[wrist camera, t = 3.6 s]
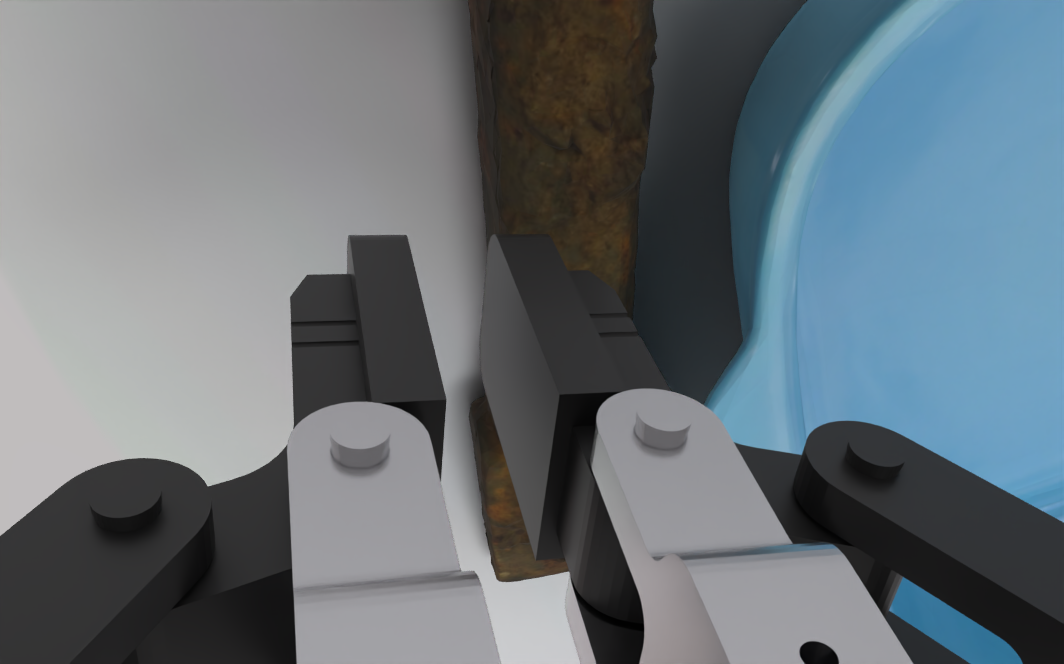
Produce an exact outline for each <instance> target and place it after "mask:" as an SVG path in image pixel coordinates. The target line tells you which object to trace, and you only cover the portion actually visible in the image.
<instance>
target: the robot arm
mask: <svg viewBox="0 0 1064 664" xmlns="http://www.w3.org/2000/svg"><path fill="white" fill-rule="evenodd" d="M290 303H291V337H292V372H293V406H294V428H293V431H292V432H291V434H290V437H289V439H288V444H287V446H286V447H285V448H284V449H283V451H282V452H281V453H280V454H279V455H278V456H277V457H276V458H274V459H273V460H272V461H271V462H269V463H268V464H266V465H265V466H263V467H261V468H260V469H258V470H256V471H254V472H252V473H249V474H247V475H245V476H242V477H239V478H236V479H233V480H230V481H226V482H223V483H219V484H216V485H212V486H209V487H208V486H207V485H206V483H205V481H204V480H203V479H202V478H201V477H200V476H199V475H198V474H197V473H195V472H194V471H192V470H191V469H189V468H187V467H185V466H183V465H180V464H178V463H174V462H171V461H167V460H160V459H150V458H137V459H126V460H120V461H115V462H111V463H107V464H104V465H101V466H97V467H95V468H92V469H90V470H88V471H85V472H83V473H81V474H80V475H78V476H76V477H74V478H73V479H71V480H70V481H68V482H67V483H65V484H64V485H63V486H61V487H60V488H59V489H58V490H56V491H55V492H54V493H53V494H52V495H50V496H49V497H48V498H47V499H45V500H44V501H43V502H42V503H40V504H39V505H38V506H37V507H36V508H34V509H33V510H32V511H31V512H29V513H28V514H27V515H26V516H25V517H23V518H22V519H21V520H20V521H18V522H17V523H16V524H15V525H13V526H12V527H11V528H10V529H9V530H7V531H6V532H5V533H4V534H2V535H1V536H0V664H501V661H500V657H499V653H498V649H497V645H496V641H495V637H494V633H493V629H492V625H491V621H490V617H489V613H488V609H487V605H486V601H485V597H484V593H483V589H482V586H481V583H480V580H479V578H478V576H477V574H476V573H475V571H462V572H461V568H460V564H459V560H458V556H457V551H456V547H455V543H454V538H453V534H452V530H451V525H450V521H449V517H448V512H447V508H446V504H445V499H444V495H443V491H442V486H441V469H442V455H443V440H444V426H445V412H446V396H445V392H444V388H443V384H442V380H441V375H440V371H439V367H438V363H437V359H436V355H435V350H434V346H433V342H432V338H431V334H430V329H429V325H428V321H427V317H426V313H425V309H424V304H423V300H422V296H421V292H420V288H419V284H418V279H417V275H416V271H415V267H414V263H413V259H412V254H411V250H410V246H409V242H408V238H407V236H406V235H349V236H348V245H347V274H327V275H307V276H306V277H305V278H304V280H303V281H302V282H301V284H300V285H299V286H298V288H297V289H296V290H295V291H294V293H293V294H292V295H291V297H290ZM480 366H481V375H482V380H483V385H484V388H485V392H486V395H487V398H488V402H489V405H490V408H491V412H492V415H493V419H494V422H495V425H496V429H497V432H498V435H499V439H500V442H501V446H502V449H503V452H504V456H505V459H506V462H507V466H508V469H509V472H510V476H511V479H512V483H513V486H514V489H515V493H516V496H517V499H518V503H519V506H520V510H521V513H522V516H523V520H524V523H525V526H526V530H527V533H528V536H529V540H530V543H531V547H532V550H533V553H534V557H535V560H536V561H537V560H549V559H560V558H565V560H566V563H567V566H568V569H569V572H570V575H569V580H568V586H567V592H566V598H565V611H566V616H567V619H568V623H569V626H570V630H571V633H572V636H573V640H574V643H575V647H576V650H577V653H578V657H579V660H580V664H970V663H969V662H967V661H966V660H964V659H963V658H961V657H960V656H958V655H956V654H955V653H953V652H952V651H950V650H949V649H947V648H946V647H944V646H943V645H941V644H940V643H938V642H937V641H935V640H934V639H932V638H930V637H929V636H927V635H926V634H924V633H923V632H921V631H920V630H918V629H917V628H915V627H914V626H912V625H911V624H909V623H907V622H906V621H904V620H903V619H901V618H900V617H898V616H897V615H895V614H894V613H892V612H891V611H889V609H890V607H891V605H892V602H893V600H894V598H895V595H896V593H897V590H898V588H899V586H900V583H901V581H902V579H903V577H904V578H906V579H907V580H909V581H910V582H912V583H914V584H915V585H917V586H918V587H920V588H922V589H923V590H925V591H926V592H928V593H930V594H931V595H933V596H934V597H936V598H938V599H939V600H941V601H942V602H944V603H946V604H947V605H949V606H950V607H952V608H954V609H955V610H957V611H958V612H960V613H961V614H963V615H965V616H966V617H968V618H969V619H971V620H973V621H974V622H976V623H977V624H979V625H981V626H982V627H984V628H985V629H987V630H989V631H990V632H992V633H993V634H995V635H997V636H998V637H1000V638H1001V639H1002V640H1004V641H1005V642H1006V643H1008V644H1009V645H1010V646H1011V647H1012V648H1013V649H1014V651H1015V652H1016V653H1017V654H1018V656H1019V657H1020V659H1021V661H1022V663H1023V664H1064V522H1062V521H1060V520H1058V519H1056V518H1055V517H1053V516H1051V515H1049V514H1047V513H1045V512H1044V511H1042V510H1040V509H1038V508H1036V507H1034V506H1032V505H1031V504H1029V503H1027V502H1025V501H1023V500H1021V499H1019V498H1018V497H1016V496H1014V495H1012V494H1010V493H1008V492H1007V491H1005V490H1003V489H1001V488H999V487H997V486H995V485H994V484H992V483H990V482H988V481H986V480H984V479H983V478H981V477H979V476H977V475H975V474H973V473H971V472H970V471H968V470H966V469H964V468H962V467H960V466H958V465H957V464H955V463H953V462H951V461H949V460H947V459H946V458H944V457H942V456H940V455H938V454H936V453H934V452H933V451H931V450H929V449H927V448H925V447H923V446H921V445H920V444H918V443H916V442H914V441H912V440H910V439H909V438H907V437H905V436H903V435H901V434H899V433H897V432H895V431H892V430H890V429H887V428H884V427H882V426H878V425H875V424H871V423H866V422H860V421H835V422H829V423H826V424H823V425H821V426H819V427H817V428H815V429H814V430H813V431H812V432H811V433H810V434H809V436H808V438H807V440H806V443H805V446H804V449H803V452H802V455H799V454H793V453H787V452H781V451H774V450H768V449H762V448H756V447H751V446H746V445H741V444H738V443H735V442H733V440H732V439H731V437H730V435H729V433H728V432H727V430H726V428H725V426H724V425H723V423H722V422H721V420H720V419H719V418H718V417H717V416H716V415H715V414H714V413H713V412H712V411H711V410H710V409H708V408H707V407H706V406H704V405H703V404H701V403H699V402H698V401H696V400H694V399H692V398H689V397H687V396H685V395H681V394H678V393H675V392H671V390H670V388H669V387H668V385H667V383H666V381H665V379H664V378H663V376H662V374H661V372H660V370H659V369H658V367H657V365H656V363H655V361H654V360H653V358H652V356H651V354H650V352H649V351H648V349H647V347H646V345H645V343H644V342H643V340H642V338H641V336H638V331H637V329H636V327H635V325H634V324H633V322H632V320H631V318H630V317H627V311H626V309H625V307H624V306H623V304H622V302H621V300H620V298H619V297H618V295H617V293H616V291H615V290H614V289H613V288H611V287H610V286H609V285H607V284H606V283H605V282H603V281H602V280H601V279H599V278H598V277H597V276H595V275H594V274H593V273H591V272H590V271H589V270H573V271H568V270H567V268H566V266H565V264H564V262H563V260H562V258H561V256H560V254H559V252H558V250H557V248H556V246H555V244H554V242H553V240H552V238H551V237H550V235H549V234H493V235H492V236H491V238H490V241H489V246H488V253H487V263H486V274H485V286H484V297H483V309H482V320H481V331H480Z"/></svg>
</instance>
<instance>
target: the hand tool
mask: <svg viewBox="0 0 1064 664" xmlns="http://www.w3.org/2000/svg"><path fill="white" fill-rule="evenodd" d="M653 1H654V0H468V4H469V10H470V26H471V37H472V47H473V58H474V68H475V79H476V91H477V103H478V145H479V153H480V162H481V171H482V184H483V201H484V211H485V220H486V236H487V253H488V246H489V241H490V238H491V236H492V235H493V234H549V235H550V237H551V238H552V240H553V242H554V244H555V246H556V248H557V250H558V252H559V254H560V256H561V258H562V260H563V262H564V264H565V266H566V268H567V270H568V271H573V270H589V271H590V272H591V273H593V274H594V275H595V276H597V277H598V278H599V279H601V280H602V281H603V282H605V283H606V284H607V285H609V286H610V287H611V288H613V289H614V290H615V291H616V293H617V295H618V297H619V298H620V300H621V302H622V304H623V306H624V307H625V309H626V311H627V317H630V318H631V320H633V306H634V292H635V273H634V270H635V266H636V257H637V247H638V214H639V186H640V176H641V174H642V172H643V170H644V169H645V163H646V155H647V148H648V135H649V127H650V119H651V110H652V102H653V94H654V83H653V78H652V70H651V67H652V65H653V64H654V62H655V60H656V59H657V56H656V51H655V46H654V45H655V42H656V39H657V33H656V27H655V21H654V15H653ZM469 421H470V427H471V433H472V439H473V445H474V454H475V460H476V467H477V475H478V481H479V489H480V493H481V499H482V515H483V518H484V521H485V523H484V525H485V529H486V532H485V533H486V536H487V542H488V546H489V550H490V554H491V564H492V566H493V569H494V572H495V575H496V579H497V580H498V581H501V582H514V581H521V580H526V579H532V578H538V577H543V576H548V575H554V574H558V573H563V572H568V571H569V569H568V566H567V563H566V560H565V558H560V559H549V560H537V561H536V560H535V557H534V553H533V550H532V547H531V543H530V540H529V536H528V533H527V530H526V526H525V523H524V520H523V516H522V513H521V510H520V506H519V503H518V499H517V496H516V493H515V489H514V486H513V483H512V479H511V476H510V472H509V469H508V466H507V462H506V459H505V456H504V452H503V449H502V446H501V442H500V439H499V435H498V432H497V429H496V425H495V422H494V419H493V415H492V412H491V408H490V405H489V402H488V398H487V395H486V392H485V396H484V397H481V398H479V399H476V400H475V401H474V402H473V403H472V404H471V408H470V413H469Z"/></svg>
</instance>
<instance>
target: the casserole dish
mask: <svg viewBox="0 0 1064 664" xmlns="http://www.w3.org/2000/svg"><path fill="white" fill-rule="evenodd" d="M729 210H730V224H731V238H732V253H733V267H734V275H735V283H736V290H737V298H738V306H739V313H740V321H741V328H742V336H743V341H742V343H741V345H740V347H739V349H738V351H737V352H736V354H735V355H734V357H733V358H732V359H731V361H730V362H729V364H728V365H727V367H726V368H725V370H724V371H723V373H722V374H721V376H720V377H719V379H718V381H717V382H716V384H715V385H714V387H713V389H712V390H711V392H710V393H709V395H708V397H707V399H706V401H705V403H704V406H706V407H707V408H708V409H710V410H711V411H712V412H713V413H714V414H715V415H716V416H717V417H718V418H719V419H720V420H721V422H722V423H723V425H724V426H725V428H726V430H727V432H728V433H729V435H730V437H731V439H732V440H733V442H735V443H738V444H741V445H746V446H751V447H756V448H762V449H768V450H774V451H781V452H787V453H793V454H799V455H802V452H803V449H804V446H805V443H806V440H807V438H808V436H809V434H810V433H811V432H812V431H813V430H814V429H815V428H817V427H819V426H821V425H823V424H826V423H829V422H835V421H860V422H866V423H871V424H875V425H878V426H882V427H884V428H887V429H890V430H892V431H895V432H897V433H899V434H901V435H903V436H905V437H907V438H909V439H910V440H912V441H914V442H916V443H918V444H920V445H921V446H923V447H925V448H927V449H929V450H931V451H933V452H934V453H936V454H938V455H940V456H942V457H944V458H946V459H947V460H949V461H951V462H953V463H955V464H957V465H958V466H960V467H962V468H964V469H966V470H968V471H970V472H971V473H973V474H975V475H977V476H979V477H981V478H983V479H984V480H986V481H988V482H990V483H992V484H994V485H995V486H997V487H999V488H1001V489H1003V490H1005V491H1007V492H1008V493H1010V494H1012V495H1014V496H1016V497H1018V498H1019V499H1021V500H1023V501H1025V502H1027V503H1029V504H1031V505H1032V506H1034V507H1036V508H1038V509H1040V510H1042V511H1044V512H1045V513H1047V514H1049V515H1051V516H1053V517H1055V518H1056V519H1058V520H1060V521H1062V522H1064V0H808V1H807V2H806V3H805V4H804V5H803V6H802V7H801V8H800V10H799V11H798V12H797V13H796V14H795V16H794V17H793V18H792V19H791V21H790V22H789V23H788V24H787V26H786V27H785V28H784V30H783V31H782V32H781V34H780V35H779V37H778V38H777V39H776V41H775V42H774V44H773V45H772V46H771V48H770V50H769V51H768V53H767V55H766V57H765V58H764V60H763V62H762V64H761V66H760V68H759V70H758V72H757V74H756V76H755V78H754V80H753V82H752V84H751V86H750V88H749V90H748V92H747V95H746V98H745V101H744V104H743V107H742V111H741V114H740V117H739V120H738V123H737V127H736V132H735V138H734V143H733V150H732V158H731V167H730V175H729ZM889 611H891V612H892V613H894V614H895V615H897V616H898V617H900V618H901V619H903V620H904V621H906V622H907V623H909V624H911V625H912V626H914V627H915V628H917V629H918V630H920V631H921V632H923V633H924V634H926V635H927V636H929V637H930V638H932V639H934V640H935V641H937V642H938V643H940V644H941V645H943V646H944V647H946V648H947V649H949V650H950V651H952V652H953V653H955V654H956V655H958V656H960V657H961V658H963V659H964V660H966V661H967V662H969V663H970V664H1023V663H1022V661H1021V659H1020V657H1019V656H1018V654H1017V653H1016V652H1015V651H1014V649H1013V648H1012V647H1011V646H1010V645H1009V644H1008V643H1006V642H1005V641H1004V640H1002V639H1001V638H1000V637H998V636H997V635H995V634H993V633H992V632H990V631H989V630H987V629H985V628H984V627H982V626H981V625H979V624H977V623H976V622H974V621H973V620H971V619H969V618H968V617H966V616H965V615H963V614H961V613H960V612H958V611H957V610H955V609H954V608H952V607H950V606H949V605H947V604H946V603H944V602H942V601H941V600H939V599H938V598H936V597H934V596H933V595H931V594H930V593H928V592H926V591H925V590H923V589H922V588H920V587H918V586H917V585H915V584H914V583H912V582H910V581H909V580H907V579H906V578H904V577H903V579H902V581H901V583H900V586H899V588H898V590H897V593H896V595H895V598H894V600H893V602H892V605H891V607H890V609H889Z"/></svg>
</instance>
